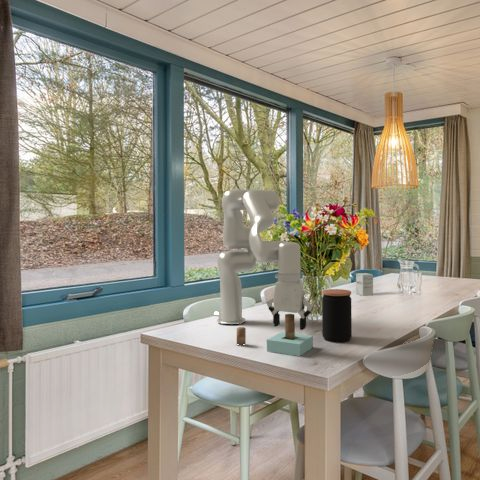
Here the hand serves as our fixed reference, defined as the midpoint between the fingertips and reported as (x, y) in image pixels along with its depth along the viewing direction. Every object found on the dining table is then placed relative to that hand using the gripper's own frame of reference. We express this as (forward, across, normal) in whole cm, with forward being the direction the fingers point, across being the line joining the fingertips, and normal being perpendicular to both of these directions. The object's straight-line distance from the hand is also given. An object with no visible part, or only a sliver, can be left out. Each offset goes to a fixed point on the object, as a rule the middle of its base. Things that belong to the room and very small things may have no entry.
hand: (289, 327), depth 151 cm
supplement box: (+9, -7, +124) cm, 124 cm away
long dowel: (+7, 0, 0) cm, 8 cm away
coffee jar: (+8, +10, +20) cm, 24 cm away
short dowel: (+8, -18, -3) cm, 19 cm away
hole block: (+7, 0, 0) cm, 8 cm away
